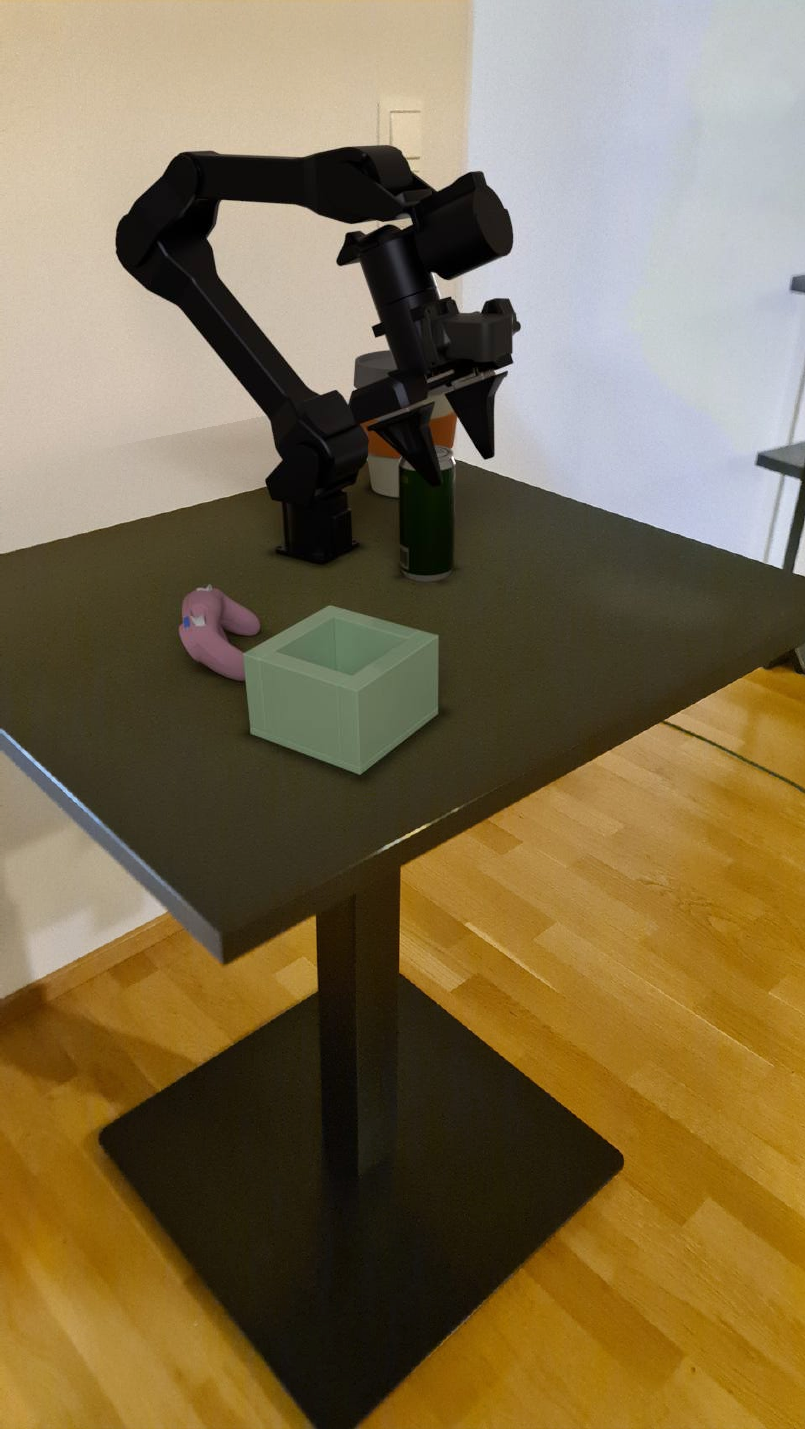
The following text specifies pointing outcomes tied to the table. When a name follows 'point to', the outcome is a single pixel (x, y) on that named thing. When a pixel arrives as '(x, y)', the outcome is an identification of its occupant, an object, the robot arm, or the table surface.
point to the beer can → (427, 520)
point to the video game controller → (216, 630)
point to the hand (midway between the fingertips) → (464, 471)
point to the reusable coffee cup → (380, 452)
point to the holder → (342, 686)
